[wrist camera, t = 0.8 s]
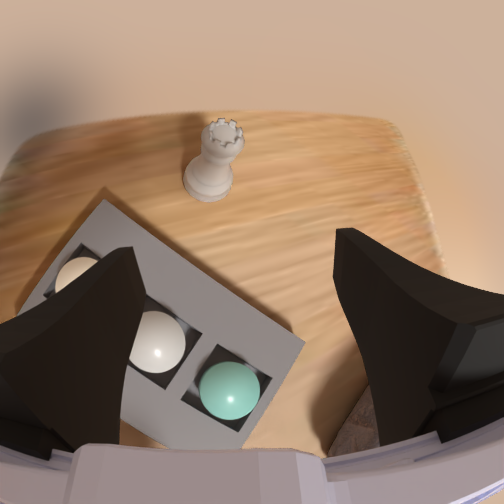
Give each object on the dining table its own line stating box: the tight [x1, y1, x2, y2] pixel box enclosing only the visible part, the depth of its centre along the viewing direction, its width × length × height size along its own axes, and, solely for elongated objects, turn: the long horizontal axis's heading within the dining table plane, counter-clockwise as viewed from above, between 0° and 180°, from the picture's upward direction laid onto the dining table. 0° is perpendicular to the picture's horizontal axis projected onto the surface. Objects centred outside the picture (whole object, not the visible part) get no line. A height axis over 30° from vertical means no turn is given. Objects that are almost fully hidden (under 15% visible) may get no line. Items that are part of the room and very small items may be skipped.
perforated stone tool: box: [327, 385, 380, 458], centre depth 24 cm, size 15×5×7 cm, turn 144°
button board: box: [16, 199, 305, 450], centre depth 23 cm, size 13×20×2 cm, turn 58°
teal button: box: [198, 361, 260, 420], centre depth 22 cm, size 4×4×1 cm
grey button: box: [129, 311, 185, 373], centre depth 22 cm, size 4×4×1 cm
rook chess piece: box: [183, 118, 245, 202], centre depth 25 cm, size 4×4×8 cm
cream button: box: [55, 257, 98, 293], centre depth 21 cm, size 4×4×1 cm
